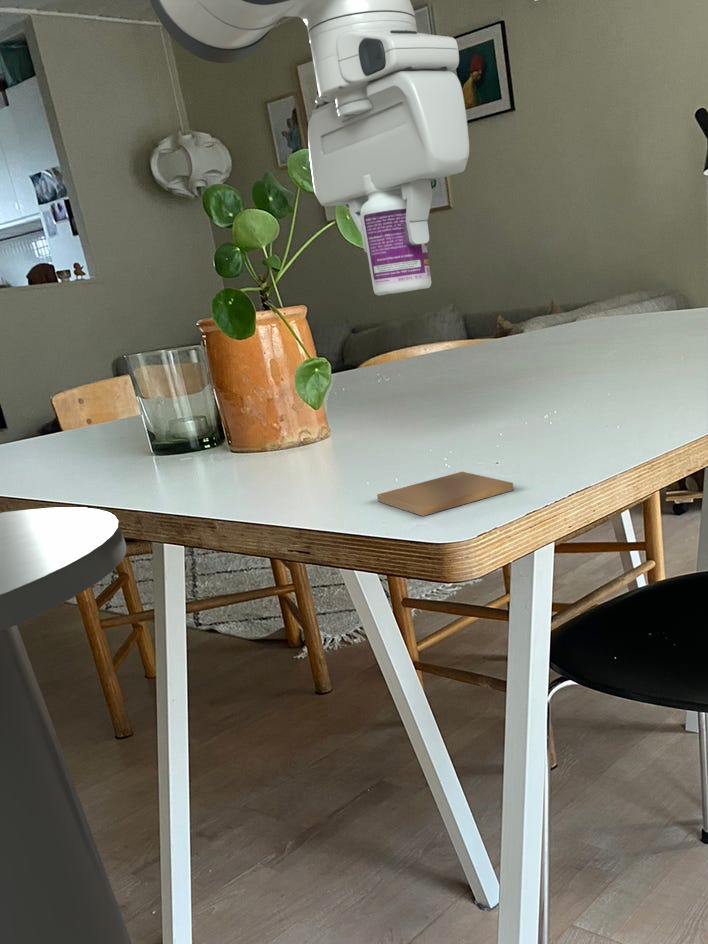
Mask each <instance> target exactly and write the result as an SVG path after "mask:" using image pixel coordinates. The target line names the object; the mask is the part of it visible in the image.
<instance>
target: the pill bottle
mask: <svg viewBox="0 0 708 944" xmlns="http://www.w3.org/2000/svg"><path fill="white" fill-rule="evenodd" d="M363 186H364V192H365V195H367V196H368V201H367V202H366V203H364V205H363V206H362V208H361V212H360V214H361V222H362V228H363V233H364V239H365V245H366V251H367V253H366V256H367V262H368V267H369V273H370V279H371V282H372V283H371V284H372V289H373V293H374V295H376V296H385V295H394V294H400V293H407V292H413V291H419V290H425V289H430V288H431V286H432V283H433V282H432V276H431V267H430V261H429V252H428V246H427V243H425V244H419V245H412V246H407V245H405V244H404V242H403V234H402V230H401V224H403V223H406V222H405V221H406V206H407V200H404V199H403V197H402V191H401V185H398V186H394V187H391V188H387V189H383V190H378V189H376V188H375V186H374V185H373V183H372V182H371V177H370V175H366V176H363Z"/></svg>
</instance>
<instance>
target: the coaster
mask: <svg viewBox="0 0 708 944" xmlns="http://www.w3.org/2000/svg"><path fill="white" fill-rule="evenodd" d="M512 491H514V483H513V482H511V481H506V480H501V479H497V478H493V477H490V476H489V477H488V476H484V475H479V474H475V473H471V472H466V471H458V472H454V473H451V474H447V475H444V476H441V477H437V478H432V479H429V480H424V481H422V482H419V483H414V484H410V485H407V486H404V487H400V488H396V489H392V490H389V491H385V492H382V493H378V494H377V495H376V496H377V501H378V502H379V503H383V504H385V505H387V506H388V505H389V506H390V507H394V508H397V509H400V510H403V511H405V512H409V513H413V514H415V515H418V516H422V517H425V516H429V515H432V514H435V513H439V512H442V511H447V510H450V509H453V508H457V507H461V506H463V505H467V504H470V503H473V502H477V501H480V500H484V499H489V498H491V497H494V496H495V497H496V496H498V495H501V494H505V493H508V492H512Z"/></svg>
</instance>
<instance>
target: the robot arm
mask: <svg viewBox="0 0 708 944" xmlns="http://www.w3.org/2000/svg"><path fill="white" fill-rule="evenodd" d="M149 2H150V4H151V7H152V9H153V11H154V13H155V15H156V17H157V18H158V21H159V22H160V24H161V25H162V27H163V28H164V30H165V31H166V32H167V33H168V35H169V36H170V38H172V39H173V40H174V41H175V43H177V44H178V45H179V46H180V47H182V48H183V49H184V50H185V51H187V52H188V53H189V54H192V55H193V56H195V57H197V58H200V59H201V60H204V61H206V62H207V61H208V62H211V63H217V64H232V63H237V62H240V61H242V60H245V59H246V58H248V57H250V56H251V55H253V54H254V53H255V52H256V51H257V50H258V49H259V48H260V46H261V45H262V44H263V43H264V41H265V39H266V38H267V36H268V34H269V33H270V32H271V30H272V29H273V28H274V26H276V25H277V24H278V23H279V22H280V21H281V20H282V19H283V18H285V17H286V18H288V17H297V18H300V19H301V20H302V21H303V22H304V23H305V26H306V29H307V34H308V40H309V45H310V51H311V56H312V57H311V58H312V63H313V68H314V75H315V80H316V86H317V92H318V94H317V95H316V97H315V103H314V107H313V110H312V111H311V117H310V119H309V120H308V124H307V125H308V127H307V141H308V142H307V143H308V152H309V162H310V170H311V178H312V185H313V191H314V195H315V197H316V199H317V200H318V203H319V204H320V205H321V206H322V207H337V206H345V205H347V206H348V209H349V215H350V216H351V219H352V220H353V222H354V224H355V226H356V228H357V229H358V232H359V233H360V235H361V241H362V246H363V251H364V252H365V253H366V254H367V251H366V245H365V239H364V233H363V228H362V222H361V214H360V212H361V208H362V206H363V205H364V203H366V202H367V201H368V196H367V195H365V192H364V186H363V176H366V175H370V177H371V182H372V183H373V185H374V186H375V188H376V189H378V190H383V189H387V188H391V187H394V186H398V185H401V191H402V197H403V199H404V200H407V206H406V221H405V222H406V223H403V224H401V230H402V234H403V242H404V244H405V245H407V246H412V245H419V244H425V243H426V244H427V243H429V242H430V231H429V224H428V220H429V217H430V211H431V205H432V201H433V189H432V188H433V187H432V181H436V180H439V179H443V178H447V177H450V176H453V175H457V174H460V173H463V172H464V171H465V169H466V167H467V164H468V160H469V156H470V137H469V128H468V127H469V125H468V118H467V110H466V104H465V97H464V92H463V88H462V84H461V81H460V79H459V77H458V76H457V74H455V72H453V71H455V70H456V69H457V68H458V67H459V64H460V53H459V52H460V51H459V45H458V42H457V40H456V39H455V38H454V37H452V36H447V35H445V36H444V35H438V34H430V33H424V32H418V28H417V21H416V19H417V18H416V14H415V10H414V7H413V5H412V3H411V0H149Z"/></svg>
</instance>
